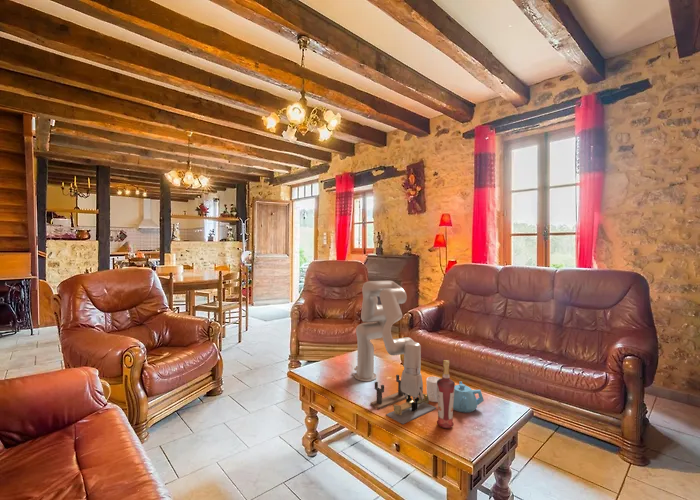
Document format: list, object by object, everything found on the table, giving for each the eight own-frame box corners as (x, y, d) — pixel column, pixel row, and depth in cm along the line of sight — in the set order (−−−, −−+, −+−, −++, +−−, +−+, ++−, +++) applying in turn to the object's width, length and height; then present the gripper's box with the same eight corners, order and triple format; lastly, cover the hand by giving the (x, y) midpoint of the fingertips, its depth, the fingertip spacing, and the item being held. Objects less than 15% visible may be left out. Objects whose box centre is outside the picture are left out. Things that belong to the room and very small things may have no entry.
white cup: (442, 403, 169) (443, 383, 169) (426, 401, 171) (426, 381, 170) (441, 396, 177) (442, 377, 176) (425, 395, 178) (426, 375, 178)
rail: (400, 415, 152) (399, 406, 153) (394, 413, 155) (393, 404, 156) (429, 402, 165) (427, 394, 165) (422, 401, 168) (421, 393, 168)
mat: (386, 415, 157) (386, 413, 157) (419, 401, 171) (419, 399, 171) (402, 424, 149) (402, 423, 149) (436, 408, 163) (436, 407, 163)
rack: (370, 404, 167) (370, 383, 167) (400, 393, 180) (400, 373, 180) (378, 409, 162) (379, 387, 162) (409, 397, 175) (409, 376, 175)
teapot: (463, 418, 155) (464, 394, 155) (438, 404, 168) (439, 382, 168) (485, 409, 163) (485, 387, 163) (460, 397, 176) (460, 376, 176)
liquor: (455, 431, 144) (456, 364, 143) (437, 429, 145) (438, 363, 145) (453, 422, 151) (454, 358, 150) (435, 420, 152) (436, 357, 152)
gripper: (393, 366, 164) (393, 404, 164) (420, 376, 151) (420, 418, 152) (404, 362, 168) (404, 400, 169) (431, 372, 156) (430, 413, 156)
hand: (411, 408), depth 160 cm, fingers closed on rail, 2 cm apart
